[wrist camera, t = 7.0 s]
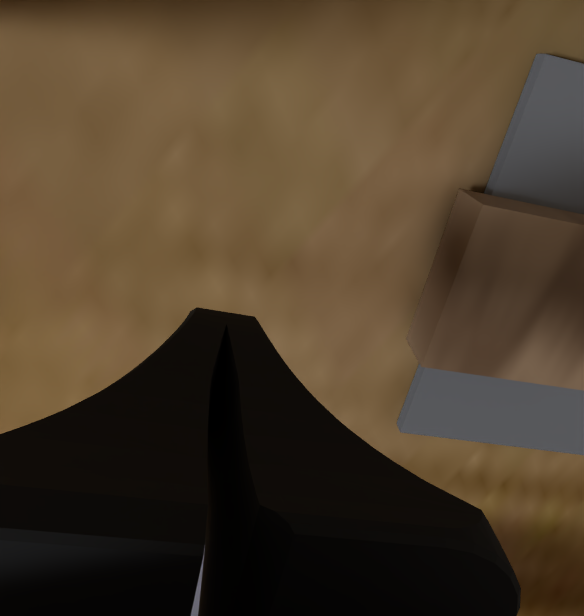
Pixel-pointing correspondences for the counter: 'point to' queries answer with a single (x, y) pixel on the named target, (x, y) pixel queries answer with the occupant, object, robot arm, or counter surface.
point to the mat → (541, 191)
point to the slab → (505, 294)
